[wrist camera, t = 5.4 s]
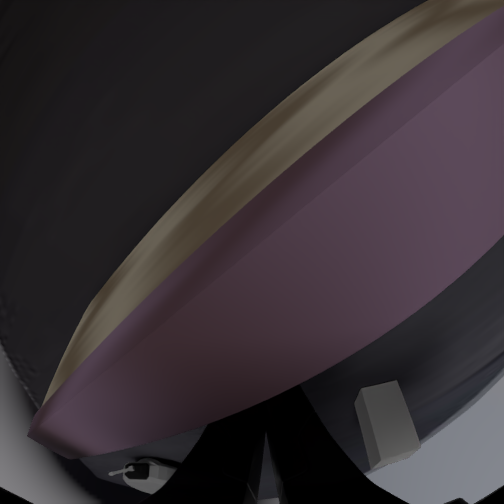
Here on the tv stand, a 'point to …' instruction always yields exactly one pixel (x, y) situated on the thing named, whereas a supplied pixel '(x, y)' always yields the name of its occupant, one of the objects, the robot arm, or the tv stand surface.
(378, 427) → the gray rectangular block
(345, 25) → the tv stand surface
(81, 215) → the tv stand surface
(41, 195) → the tv stand surface
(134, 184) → the tv stand surface
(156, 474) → the robot toy
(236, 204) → the beige flat panel
